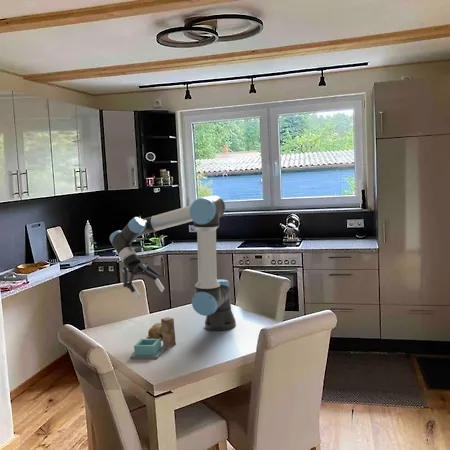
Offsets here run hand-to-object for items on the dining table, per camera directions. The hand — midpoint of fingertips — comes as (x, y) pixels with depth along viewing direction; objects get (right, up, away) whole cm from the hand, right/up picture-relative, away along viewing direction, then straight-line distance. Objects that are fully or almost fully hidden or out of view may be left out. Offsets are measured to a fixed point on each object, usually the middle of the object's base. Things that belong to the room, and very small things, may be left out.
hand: (151, 293), depth 238 cm
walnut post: (+9, -22, -5) cm, 25 cm away
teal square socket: (+1, -24, -15) cm, 28 cm away
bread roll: (+3, -21, +8) cm, 23 cm away
